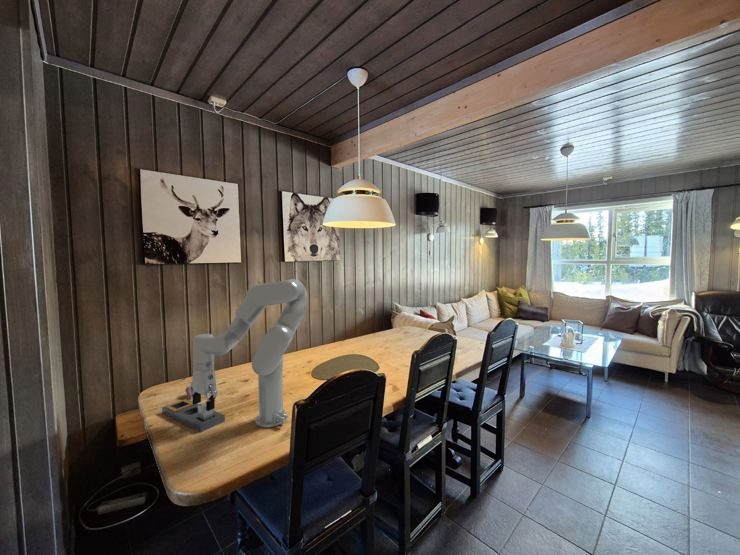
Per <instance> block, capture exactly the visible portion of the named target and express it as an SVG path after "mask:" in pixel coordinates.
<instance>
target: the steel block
mask: <svg viewBox="0 0 740 555" xmlns="http://www.w3.org/2000/svg"><path fill="white" fill-rule="evenodd" d="M198 404H199V405H198V420H200V421H202V422H204V421H206V420H209V419H211V418H213V410H214V409H212V410H209V411H206V401H204V402H200V403H198Z"/></svg>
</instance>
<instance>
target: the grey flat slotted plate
mask: <svg viewBox="0 0 740 555" xmlns="http://www.w3.org/2000/svg"><path fill="white" fill-rule="evenodd" d="M199 404H200V403H197V404H195V405H193V400H191V399H188V398H184V399H181V400H179V401H175V402H173V403H170V404H168V405H165V406H162V407H161V413H162V414H163V413H164V414H163V415H165V414H166V415H165V416H167V415H168V416H167V417H169V416H170V417H169V418H172V419H174V420H175V421H177V422H179V423H181V424H183V425H185V426H187V427H189V428H191V429H193V430H195V431H197V432H200V433H202V432H205V431H207V430H209V429H211V428H214V427H215V426H218V425H220V424H222V423H224V422H225V420H226V417H225V416H226V415H225V414H224V413H223V414H222V413H221V412H218V411H215V410H214V409H213V418H211V419H209V420H206V421H204V422H202V421H200V420H198V405H199Z"/></svg>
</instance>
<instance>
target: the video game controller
mask: <svg viewBox="0 0 740 555" xmlns="http://www.w3.org/2000/svg"><path fill="white" fill-rule="evenodd" d="M207 393H209V392H207ZM185 394H186V396H187V399H188V400H192V399H193V395H192V389H191V384H190V385H188V386H187V387H186V388H185Z"/></svg>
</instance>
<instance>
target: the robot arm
mask: <svg viewBox="0 0 740 555" xmlns="http://www.w3.org/2000/svg"><path fill="white" fill-rule="evenodd" d="M279 304H285V306H284V308H283V309H282V311H281V313H280V315H279V317H278V319H277V321H276V322H275V323H274V324H273V325H272V327H270V328H269V329H268V330H267V332H266V333H265V335H264V337H263V338H262V340H261V342H260V344H259V346H258V347H257V349H256V351H255V353H254V355H253V357H252V360H251V368H252V370H253V372H254V373H255V374H256V375H257V376H258V378H257V379H258V383H257V384H258V387H257V388H258V415H257V416H256V417H255V421H254V422H255V425H256V426H258V427H260V428H273V427H279V426H280V425H282V424H286V422H287V419H288V418H289V415H288V414H287V412H286V410H285V409H284V395H283V394H284V393H283V392H284V390H283V389H284V388H283V387H284V386H283V382H284V379H283V372H284V369H283V367H284V354H285V353H286V350H287V349H288V347H289V345H290V344H291V342H292V341H293V339H294V336H295V333H296V332H297V329H298V327H299V326H300V323H301V321H302V319H303V318H304V315H305V313H306V311H307V308H308V305H309V294H308V291H307V289H306V287H305V285H304V284H303V283H302V282H301V281H300V280H298V279H295V278H290V279H289V278H288V279H285V280H280V281H275V282H274V281H273V282H268V283H257V284H254V285H252V286H251V287H249V289H248V290H247V291H246V296H245V298H244V300H243V301H242V302H241V304H240V305H239V306H238V307H237V309H236V310H235V312H234V314H235V315H234V319H233V320H232V322H231V323H230V324H229V325H228V327H227V328H226V329H225V331H224V332H222V333H221V334H219V335H217V336H214V335H213V334H211V333H201V334H196V335H195V336H194V337H193V339H192V371H193V372H192V379H191V381H190V385H191V389H192V395H193V396H192V402H193V405H195V404H201V403H202V396H205V398H206V401H205V402H206V411H209V410H212V409H213V410H214V409H215V407H216V404H215V403H216V400H215V399H216V397H217V396H218V395H217V394H218V389H217V376H216V371H215V370H216V369H215V355H216V356H223V355H225V354H227V353H228V352H230V350H232V349H233V348H235V347H236V346H237V345H238V343H240V341H241V340H242V339H243V337H244V336H245V335H246V334H247V332H248V331H249V330H250V328H251V327H252V326H253V325H254V323H255V322H256V320H257V319H258V318H259V317H260V315H261V314H262V313H263V311H264V310H265V309H266V308H267V307H268V306H273V305H279ZM207 392H209V393H207ZM209 395H210V396H209Z"/></svg>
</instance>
